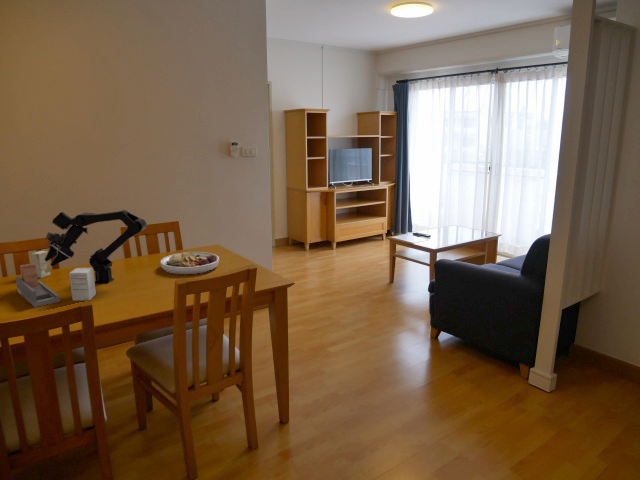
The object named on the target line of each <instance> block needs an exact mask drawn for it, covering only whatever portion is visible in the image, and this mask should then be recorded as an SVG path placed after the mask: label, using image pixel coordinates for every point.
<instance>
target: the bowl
mask: <svg viewBox="0 0 640 480" xmlns="http://www.w3.org/2000/svg"><path fill="white" fill-rule="evenodd" d="M219 262H220V257H219V256H218V255H217V254H214V253H211V252H206V251H204V252H203V251H186V252H180V253H174V254H169V255H167V256H164V257H163V258H161V259H160V266H161V268H162V270H164V271H165V272H167V273H169V274H172V273H173V274H172V275H178V274H184V275H183V276H186V275H185V274H193V275H198V274H197V273H200V274H204V273H203V272H205V273H207V272H206V271H208V272H210V271H209V270H211V271H213V270H214V269H216V267H218V265H219Z"/></svg>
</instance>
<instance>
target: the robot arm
mask: <svg viewBox="0 0 640 480" xmlns="http://www.w3.org/2000/svg"><path fill="white" fill-rule="evenodd" d="M109 221H121V222H122V223H123V224H124V225H125V226H126V229H125V231H124V232H123V233H122V234H121V235H120V236H118V237H117V238H116V239H115V240H113V241H112V242H111V243H110V244H108V246H107V247H105V248H104V249H103V247H100V248H99V249H98V250H95V252H94V253H93V254H91V255H90V256H89V257H90V258H89V259H88V261H89V265H90V266H91V268H93V272H94V281H95V284H109V283H110V282H113V280H114V279H115V278H114V277H113V274H112V268H111V267H112V266H113V261H111V260H110V258H111V256H112V255H113V253H115V252H116V251H117V250H118V249H120V248H121V247H122V246H123V245H124V244H125V243H126V242H128V240H130V239H131V238H132V237H134V236H136V235H137V234H139V233H141V232H142V231H144V230H145V229H146V228H147V221H146V220H145V219H143V218H140V217H138V216H137V215H135V214H134V213H133V214H132V213H131V212H129V211H127V210H125V209H122V210H117V211H108V212H100V213H95V212H83V213H80V214H77V215H76V216H74V217H70V216H69V215H67V214H66V213H65V212H63V211H61V212H59V213H58V215H56V216H55V217H54V218H53V219H52V221H51V223H52V224H53V225H54V226H55V227H58V228H59V229H61V230H62V231H65V230H66V232H65V233H61V234H60V233H56V232H54V233H53V232H48V231H47V233H46V235H45V240H47V241H48V242H47V245H48V253H47V256H46V258H45V261H48V260H49V261H50V260H52V261H51V263H49V265H50V267H51V266H52V267H53V266H56V265H58V264H59V263H62V262H63V261H66V260H67V259H70V258H73V257H74V255H75V252H74V250H72V248H71V247H73V245H74V244H77V242H78V241H77V240H79V238H80V237H81V236H82V235H83V233H85V234H86V235H88V234H89V231H88V230H89V229H88V227H87V226H89V225H93V224H96V223H103V222H109ZM53 258H54V259H53Z"/></svg>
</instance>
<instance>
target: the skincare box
mask: <svg viewBox="0 0 640 480" xmlns="http://www.w3.org/2000/svg"><path fill="white" fill-rule="evenodd" d="M48 251H49V250H48ZM48 251H47V250H46V251H45V250H39V251H36V252H32V253H31V263H33V264H34V265H36V270H37V278H40V279H43V278H45V277H48V276H50V275H51V265H50V260H48V261H45V258H46V256H47V253H48Z"/></svg>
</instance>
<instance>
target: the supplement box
mask: <svg viewBox="0 0 640 480" xmlns="http://www.w3.org/2000/svg"><path fill="white" fill-rule="evenodd" d="M68 275H69V282H70V289H71V298H72V301H74V302H75V301H91V300H92V299H93V298H95V296H96V294H97V291H96V283H95V281H96V280H95V271H94V269H93V267H76V268H74V269H73V270H71V271H70V272H69V273H68Z"/></svg>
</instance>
